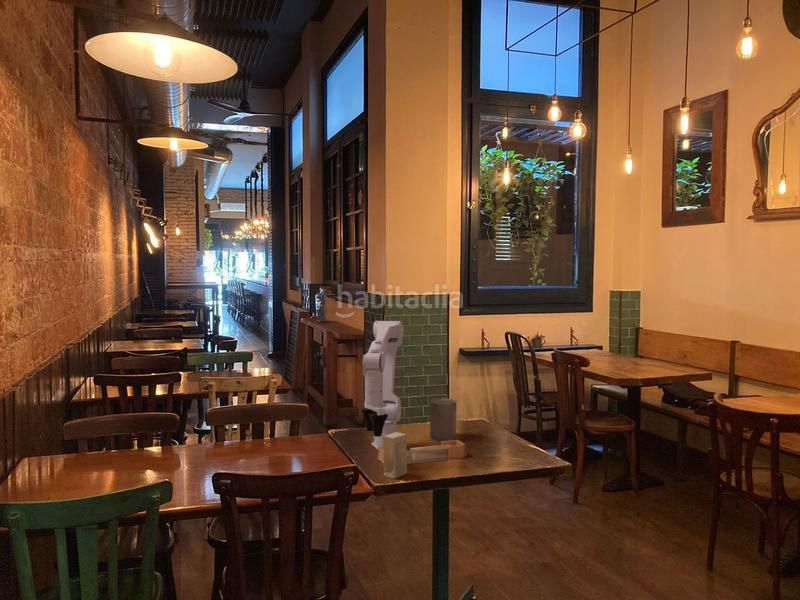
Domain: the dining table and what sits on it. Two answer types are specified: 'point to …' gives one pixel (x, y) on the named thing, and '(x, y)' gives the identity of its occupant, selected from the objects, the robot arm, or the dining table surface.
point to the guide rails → (424, 459)
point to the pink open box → (455, 449)
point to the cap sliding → (380, 454)
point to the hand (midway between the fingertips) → (374, 433)
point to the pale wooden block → (429, 452)
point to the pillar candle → (443, 419)
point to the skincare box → (395, 455)
